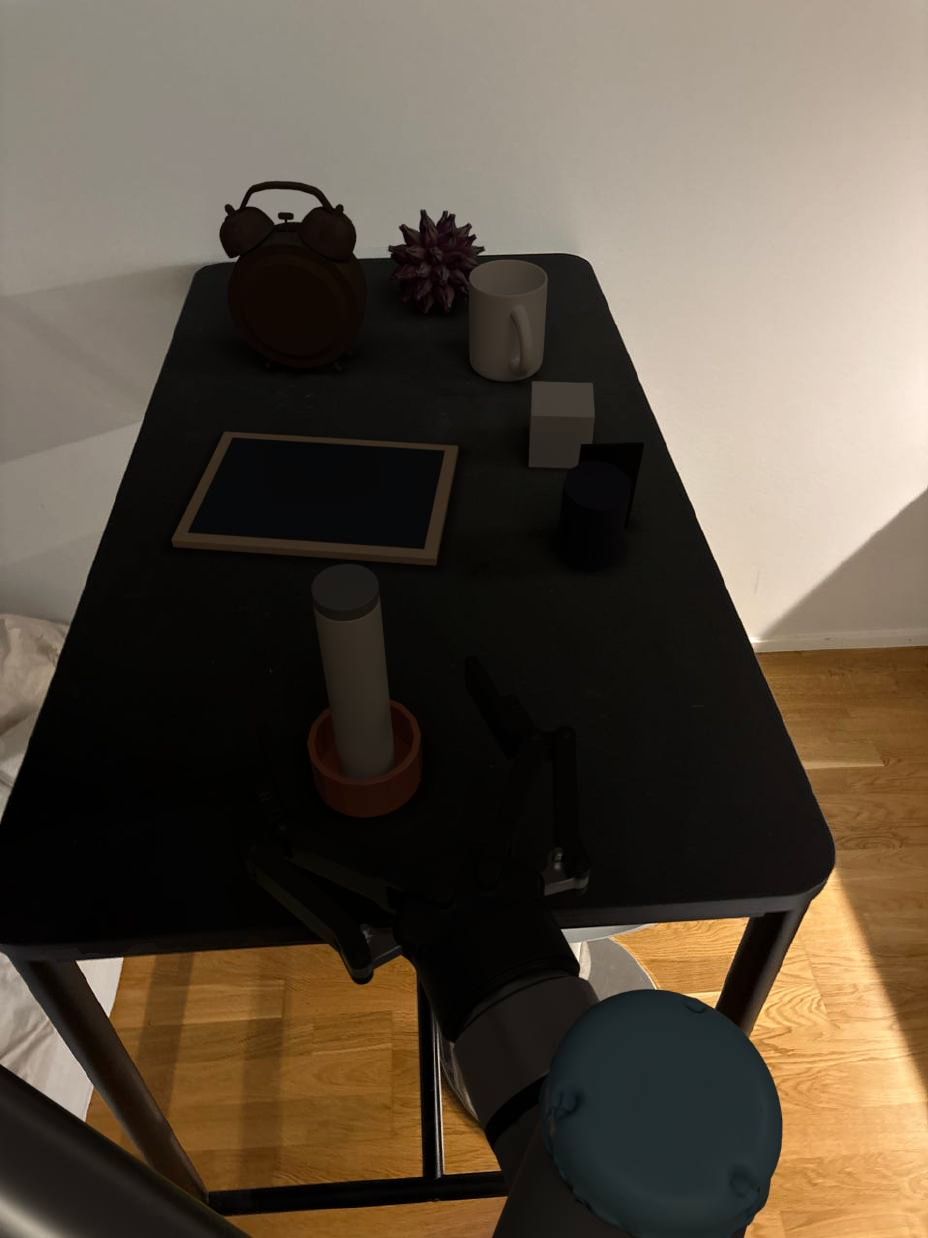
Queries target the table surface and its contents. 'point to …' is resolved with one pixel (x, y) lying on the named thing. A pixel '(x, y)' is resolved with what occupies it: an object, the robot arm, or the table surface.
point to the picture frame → (322, 498)
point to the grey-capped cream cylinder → (355, 668)
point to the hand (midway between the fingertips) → (370, 702)
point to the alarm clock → (294, 280)
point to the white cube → (560, 423)
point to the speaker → (598, 504)
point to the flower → (435, 261)
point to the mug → (507, 319)
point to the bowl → (373, 792)
